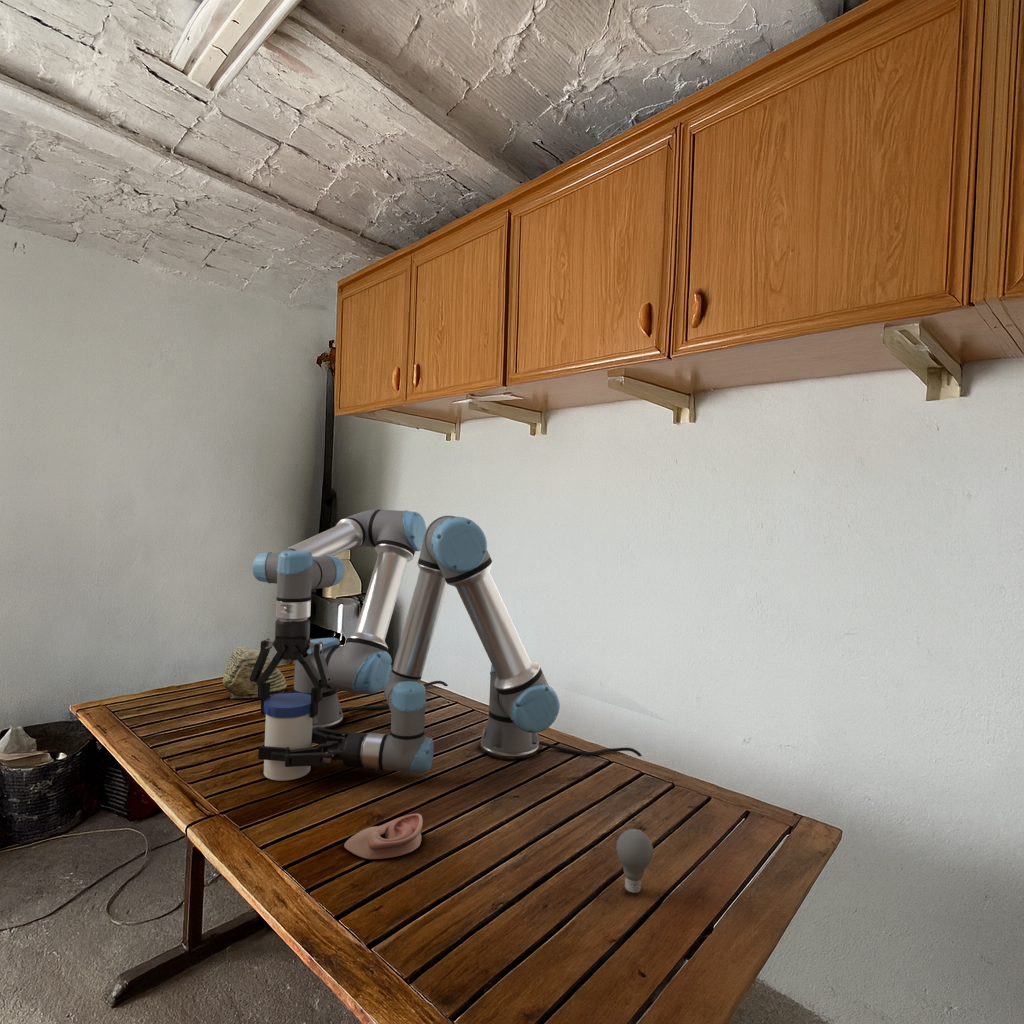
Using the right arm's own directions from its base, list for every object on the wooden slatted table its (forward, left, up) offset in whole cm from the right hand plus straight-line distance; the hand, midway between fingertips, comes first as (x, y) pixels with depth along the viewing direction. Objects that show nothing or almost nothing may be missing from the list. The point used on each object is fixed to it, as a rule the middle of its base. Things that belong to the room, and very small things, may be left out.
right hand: (270, 743), depth 146 cm
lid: (-4, +2, +10) cm, 11 cm away
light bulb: (-57, +64, -6) cm, 86 cm away
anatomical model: (-20, +38, -6) cm, 44 cm away
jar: (-4, +2, -6) cm, 7 cm away
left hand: (-4, +2, +7) cm, 8 cm away
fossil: (+5, -58, -6) cm, 58 cm away
